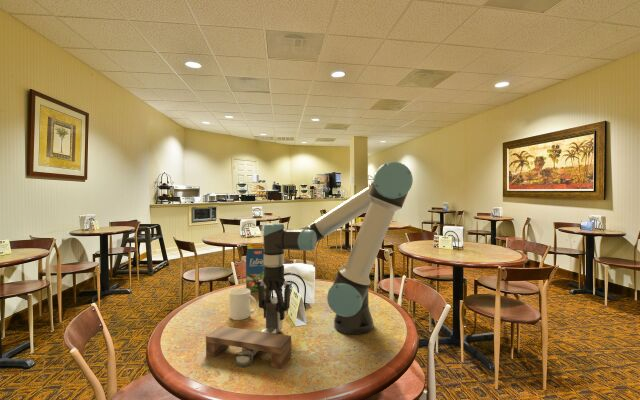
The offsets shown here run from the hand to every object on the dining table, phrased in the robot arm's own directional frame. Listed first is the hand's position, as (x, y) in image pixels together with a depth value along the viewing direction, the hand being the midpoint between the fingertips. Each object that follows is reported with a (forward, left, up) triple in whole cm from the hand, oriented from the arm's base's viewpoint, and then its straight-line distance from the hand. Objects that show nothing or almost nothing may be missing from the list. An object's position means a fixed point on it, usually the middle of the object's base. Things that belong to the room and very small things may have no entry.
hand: (274, 327), depth 114 cm
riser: (+1, +17, -2) cm, 17 cm away
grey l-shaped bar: (0, +8, -1) cm, 8 cm away
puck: (0, +21, -2) cm, 21 cm away
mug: (+19, -10, -2) cm, 22 cm away
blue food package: (+31, -45, -2) cm, 55 cm away
